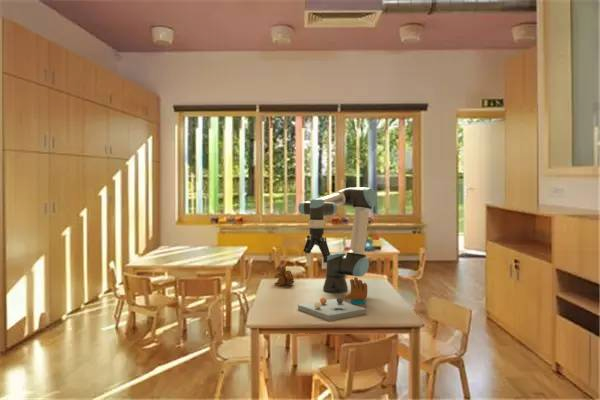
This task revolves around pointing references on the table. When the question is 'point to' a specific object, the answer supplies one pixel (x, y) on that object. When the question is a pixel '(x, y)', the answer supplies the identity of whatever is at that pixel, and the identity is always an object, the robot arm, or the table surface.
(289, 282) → the stuffed squirrel
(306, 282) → the table surface
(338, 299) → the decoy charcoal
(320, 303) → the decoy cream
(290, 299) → the table surface
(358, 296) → the toy
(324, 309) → the grey flat plate
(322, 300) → the ball
